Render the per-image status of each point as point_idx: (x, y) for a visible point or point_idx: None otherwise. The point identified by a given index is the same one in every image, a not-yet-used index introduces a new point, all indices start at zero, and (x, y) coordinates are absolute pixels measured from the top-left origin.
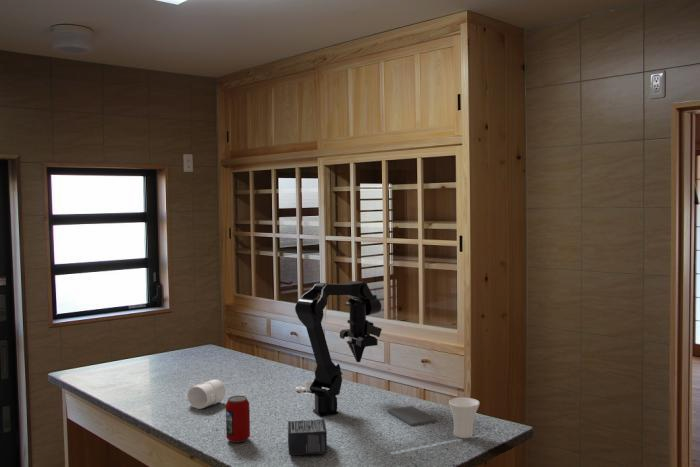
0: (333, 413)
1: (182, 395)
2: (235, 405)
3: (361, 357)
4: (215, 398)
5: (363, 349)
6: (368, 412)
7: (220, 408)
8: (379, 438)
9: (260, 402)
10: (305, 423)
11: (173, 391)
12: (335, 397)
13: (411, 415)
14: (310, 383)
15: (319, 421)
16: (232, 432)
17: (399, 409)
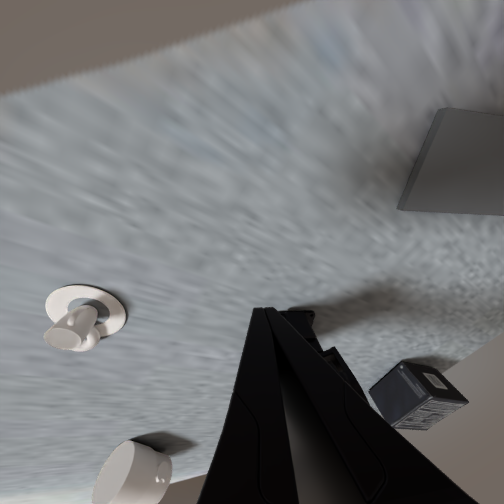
0: (312, 320)
1: (62, 470)
2: None
3: (299, 335)
4: (159, 465)
5: (416, 460)
6: (356, 252)
7: (168, 437)
8: (469, 297)
9: (157, 400)
10: (419, 415)
11: (28, 480)
12: (318, 342)
13: (488, 177)
14: (85, 336)
15: (433, 403)
16: None
17: (430, 176)
